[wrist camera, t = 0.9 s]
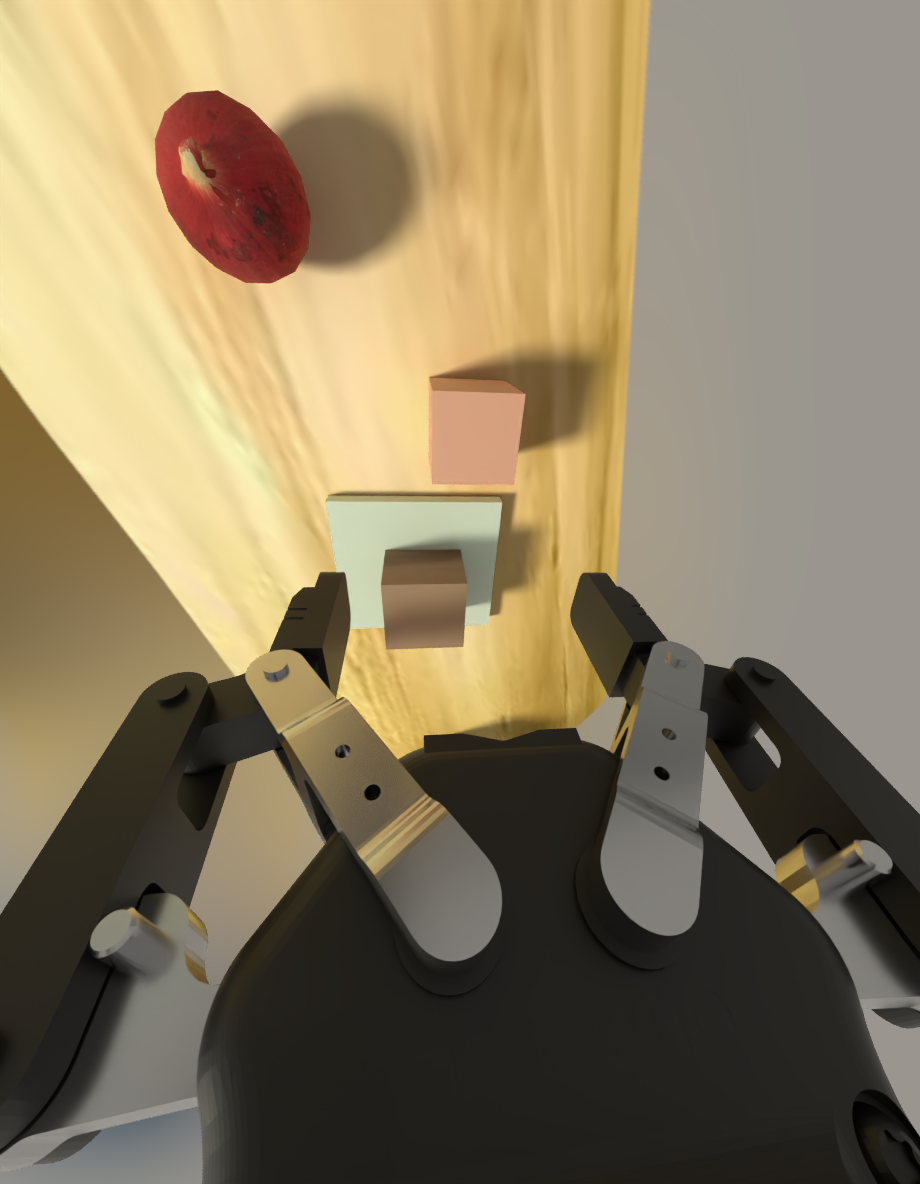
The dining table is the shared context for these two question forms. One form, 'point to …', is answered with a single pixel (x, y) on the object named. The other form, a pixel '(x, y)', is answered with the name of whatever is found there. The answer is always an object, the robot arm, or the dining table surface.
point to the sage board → (412, 544)
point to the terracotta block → (474, 431)
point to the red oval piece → (232, 187)
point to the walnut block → (423, 598)
